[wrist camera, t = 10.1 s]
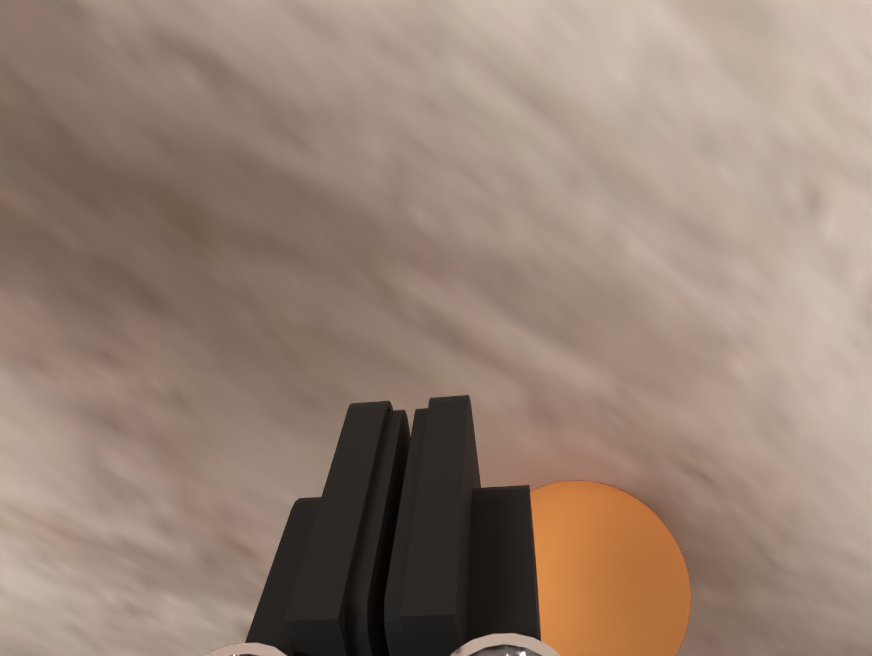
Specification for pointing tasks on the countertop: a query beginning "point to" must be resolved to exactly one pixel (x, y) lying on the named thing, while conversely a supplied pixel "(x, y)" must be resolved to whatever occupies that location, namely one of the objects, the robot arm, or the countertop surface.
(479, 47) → the countertop surface
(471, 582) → the robot arm
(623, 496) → the ball
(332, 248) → the countertop surface
